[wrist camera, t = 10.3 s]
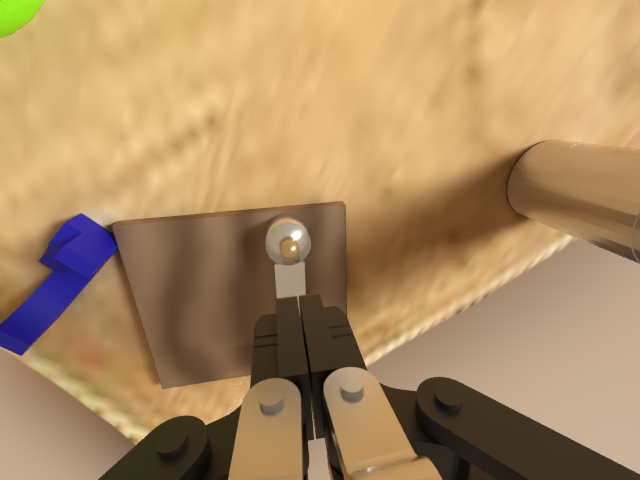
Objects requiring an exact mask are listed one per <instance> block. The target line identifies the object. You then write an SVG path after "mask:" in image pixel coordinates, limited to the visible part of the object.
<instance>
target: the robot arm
mask: <svg viewBox="0 0 640 480" xmlns="http://www.w3.org/2000/svg"><path fill="white" fill-rule="evenodd" d="M507 194H508V200H509V202H510V205H511V206H512V208H513V209H514V210H515V211H516V212H517V213H519V214H521V215H523V216H526V217H528V218H530V219H533V220H535V221H537V222H540V223H542V224H545V225H547V226H549V227H552V228H554V229H556V230H559V231H561V232H564V233H566V234H569V235H571V236H573V237H576V238H578V239H581V240H583V241H586V242H588V243H590V244H593V245H595V246H598V247H600V248H603V249H605V250H607V251H610V252H612V253H615V254H617V255H620V256H622V257H625V258H627V259H629V260H632V261H634V262H637V263H639V264H640V149H632V148H623V147H613V146H604V145H595V144H588V143H579V142H570V141H561V140H548V141H545V142H541V143H539V144H537V145H535V146H533V147H532V148H530V149H529V150H528V151H527V152H525V153H524V154H523V156H522V157H521V158H520V159H519V160H518V162H517V163H516V165H515V166H514V168H513V170H512V172H511V174H510V177H509V181H508V187H507ZM299 308H300V313H299ZM311 405H312V409H311ZM312 412H313V419H314V426H315V433H316V439H319V438H325V443H326V448H327V459H328V470H329V474H330V478H331V480H640V474H638V473H636V472H634V471H632V470H630V469H628V468H626V467H624V466H622V465H620V464H618V463H616V462H614V461H612V460H611V459H609V458H606V457H605V456H603V455H601V454H599V453H597V452H595V451H593V450H591V449H589V448H587V447H585V446H583V445H581V444H579V443H577V442H575V441H573V440H571V439H570V438H568V437H566V436H564V435H562V434H560V433H558V432H556V431H554V430H552V429H550V428H548V427H546V426H544V425H542V424H540V423H538V422H536V421H534V420H532V419H531V418H529V417H526V416H525V415H523V414H521V413H519V412H517V411H515V410H513V409H511V408H509V407H507V406H505V405H503V404H501V403H499V402H497V401H495V400H493V399H491V398H490V397H488V396H486V395H484V394H482V393H480V392H478V391H476V390H474V389H472V388H470V387H468V386H466V385H464V384H462V383H460V382H458V381H456V380H453V379H450V378H445V377H433V378H429V379H427V380H425V381H423V382H422V383H421V384H420V385H419V387H418V389H417V391H409V390H400V389H395V388H391V387H387V386H385V385H383V384H381V383H379V382H378V380H377V379H376V378H375V377H374V375H372V374H371V373H370V372H368V370H367V368H366V366H365V363H364V360H363V358H362V355H361V353H360V350H359V347H358V345H357V342H356V339H355V337H354V335H353V332H352V329H351V326H350V324H349V321H348V318H347V316H346V314H345V313H344V312H343V311H342V310H341V309H340V308H338V307H337V306H330V307H323V304H322V300H321V296H320V293H317V294H308V295H300V296H299V306H298V300H297V296H292V297H284V298H276V313H275V314H267V315H261V317H260V318H259V320H258V321H257V323H256V324H255V326H254V339H253V354H252V369H251V384H250V390H249V391H248V392H247V393H246V395H245V396H244V398H243V401H242V404H241V405H240V406H239V407H238V408H237V409H236V410H235V411H233V412H232V413H230V414H229V415H227V416H225V417H223V418H221V419H219V420H216V421H214V422H212V423H210V424H208V425H205V424H204V422H203V421H202V420H200V419H199V418H197V417H194V416H179V417H175V418H172V419H170V420H167V421H166V422H164V423H162V424H160V425H159V426H157V427H156V428H155V429H154V430H152V431H151V432H150V433H149V434H148V435H147V436H146V437H145V438H144V439H142V440H141V441H140V442H139V443H138V444H137V445H136V446H135V447H134V448H133V449H132V450H130V451H129V452H128V453H127V454H126V455H125V456H124V457H123V458H121V459H120V460H119V461H118V462H117V463H116V464H115V465H114V466H113V467H112V468H110V469H109V470H108V471H107V472H106V473H105V474H104V475H103V476H102V477H100V478H99V479H98V480H308V467H309V450H308V440H314V434H313V421H312Z"/></svg>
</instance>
